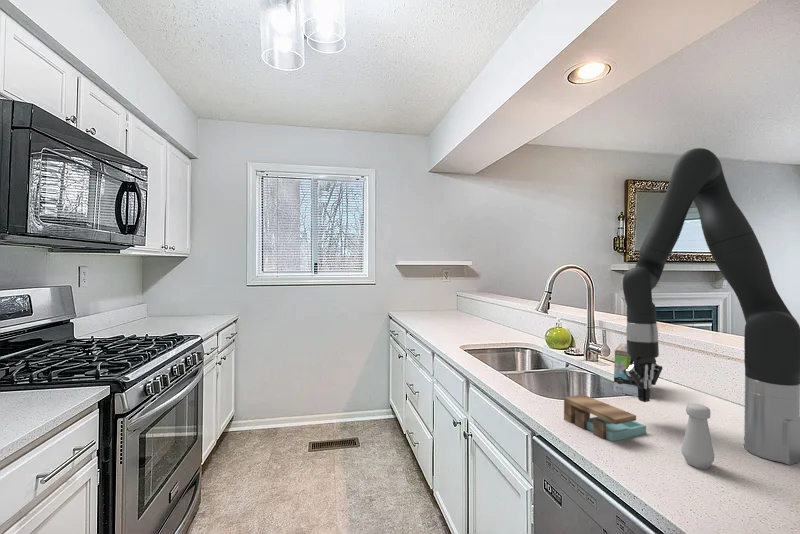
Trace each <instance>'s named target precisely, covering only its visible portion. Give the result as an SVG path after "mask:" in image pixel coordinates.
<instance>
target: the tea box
mask: <svg viewBox="0 0 800 534" xmlns="http://www.w3.org/2000/svg"><path fill="white" fill-rule="evenodd" d="M630 359H631V357H630V356H629V355H628V354H627V343H620V344H619V345H618V346H617V347H616V348H615V349H614V366H613V367H614V369H613V371H614V373H613V392H614V393H619V394H623V395H629V396H634V397H638V387H637V386H634V385H632V384H631V383H630V381H629V380H628V378H627V376H626V375H625V373H624V372H623V370H624V369H628V368H629V366H630Z"/></svg>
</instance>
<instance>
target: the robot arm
mask: <svg viewBox="0 0 800 534" xmlns="http://www.w3.org/2000/svg"><path fill="white" fill-rule="evenodd" d="M693 203H694V205H695V207H696V209H697V211H698V212H697V213H698V215H699V220H700V225H701V226H700V227H701V229H702V234H703V237H704V240H705V243H706V245H707V248H708V249H709V253H710V255H711V257H712V259H713V260H714V263H715V265H716V266H717V268H718V270H719V271H720V273H721V275H722V277H723V278H724V279H725V280H726V282H727V283H728V285H729V286H730V287H731V289H732V291H733V292H734V293H735V296H736V297H737V300H738V302H739V305H740V308H741V310H742V314H743V317H744V321H745V325H744V335H743V336H744V340H743V342H744V345H743V346H744V348H743V349H744V350H743V351H744V355H743V356H744V359H743V360H744V361H743V363H744V424H743V425H744V429H743V430H744V435H743V440H744V441H743V442H744V443H743V445H744V448H745V450H746V451H747V452H749V453H751V454H753V455H755V456H757V457H760V458H763V459H766V460H770V461H773V462H778V463H782V464H785V465H788V466H789V465H794V464H797V463H800V324H799V322H798V321H797V319H796V318H795V317H794V316H793V314H792V313H791V311H790V310H789V308H788V307H787V305H786V304H785V302H784V301H783V299H782V297H781V296H780V294H779V292H778V290H777V288H776V286H775V285H774V282H773V278H772V275H771V272H770V271H771V270H770V268H769V263H768V261H767V259H766V256H765V253H764V251H763V248H762V246H761V244H760V242H759V240H758V237H757V236H756V234H755V231H754V229H753V228H752V226H751V224H750V222H749V220H748V219H747V218H746V216H745V215H744V213H743V211H742V210H741V209H740V207H739V206H738V205H737V203H736V201H735V200H734V199H733V197H732V194H731V192H730V189H729V187H728V184H727V181H726V178H725V174H724V170H723V166H722V163H721V160H720V159H719V158H718V156H717V155H716V154H715V152H713V151H711V150H709V149H707V148H702V147H698V148H697V147H695V148H692V149H689V150H687V151H685V152H683V153H682V154H680V156H679V157H678V158H677V159H676V160H675V163H674V166H673V169H672V172H671V176H670V179H669V183H668V186H667V189H666V192H665V194H664V197H663V200H662V202H661V205H660V207H659V209H658V212H657V214H656V215H655V218H654V219H653V222H652V223H651V226H650V228H649V229H648V232H647V234H646V235H645V238H644V239H643V242H642V244H641V245H640V248H639V252H638V254H639V256H638V257H639V258H638V260H637V262H636V264H635V266H634V267H633V268H629V269H628V270H627V271H626V272H625V273H624V274H623V277H622V290H623V296H624V300H625V304H626V332H625V333H626V335H625V336H626V344H627V354H628V355H629V356H630V357H631V359H630V366H629V368H628V369H624V370H623V372H624V373H625V375H626V376H627V378H628V380H629V381H630V383H631V384H632V385H634V386H637V387H638V396H637V398H638V400H639V401H640V402H643V403H647V402H650V400H651V388H652V386H656V384H657V382H658V379H659V378H660V376H661V374H662V373H661V372H663V366H662V365H659V364H658V363H657V360H656V358H658V357H659V356H660V353H659V351H660V350H659V348H660V347H659V331H658V324H657V323H658V322H657V320H658V319H657V308H656V305H655V303H654V302H653V297H652V296H653V294H652V290H653V289H655V288H656V286H657V284H659V283H658V282H659V281H660V279H661V276H662V275H663V274H662V273H663V271H664V268H665V264H666V262H667V260H668V258H670V255H671V253H672V252H673V250H674V248H675V245H676V243H677V241H678V240H679V238H680V234H681V233H682V231H683V227H684V224H685V221H686V217H687V215H688V212H689V211H690V208H691V206H692V204H693Z"/></svg>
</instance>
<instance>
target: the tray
mask: <svg viewBox="0 0 800 534" xmlns="http://www.w3.org/2000/svg"><path fill="white" fill-rule="evenodd" d="M594 418H597V419H600V420H602V421H604V422H606V438H605V439H607V440H609V441H610V442H615V441H620V440H623V439H624V440H625V439H627V438H628V439H629V438H633V437H637V436H642V435H646V434H647V426H646V425H644V424H642V423H639V422H637V421H636V420H635V421H630V422H626V423H621V424H613V423H611V422H609V421H606V420H604V419H602V418H600V417H597V416H594V417H590V418H588V419H587V429H586V430H589V431H591V432H592V433H593V419H594Z"/></svg>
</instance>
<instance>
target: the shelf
mask: <svg viewBox="0 0 800 534" xmlns="http://www.w3.org/2000/svg"><path fill="white" fill-rule="evenodd" d="M591 415H594V417H600V418H602V419H604V420H606V421H609V422H611V423H613V424H621V423H626V422H630V421H635V422H636V421H637V415H636V414H633V413H630V412H629V411H626V410H624V409H620V408H618V407H616V406H614V405H610V404H608V403H605V402H603V401H601V400H597V399H596V398H593V397H590V396H588V395H585V394H579V395H578V394H577V395H576V394H575V395H571V396H564V397H563V420H565V421H566V422H569V423H570V424H572V423H574V426H577V427H578V428H580V429H583V430H588V429H587V419H588V418H591ZM592 433H593V435H595V436H597V437H598V438H601V439H602V440H604V439H606V422H604V421H602V420H600V419H597V418H594V419H593V432H592Z"/></svg>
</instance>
